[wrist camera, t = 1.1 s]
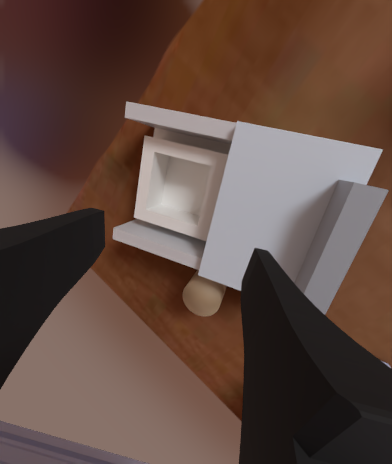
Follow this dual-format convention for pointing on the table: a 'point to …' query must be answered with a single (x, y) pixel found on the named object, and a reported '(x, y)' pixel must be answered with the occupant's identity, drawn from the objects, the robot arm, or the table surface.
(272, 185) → the lid
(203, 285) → the beige cylinder
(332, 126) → the table surface
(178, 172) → the housing
